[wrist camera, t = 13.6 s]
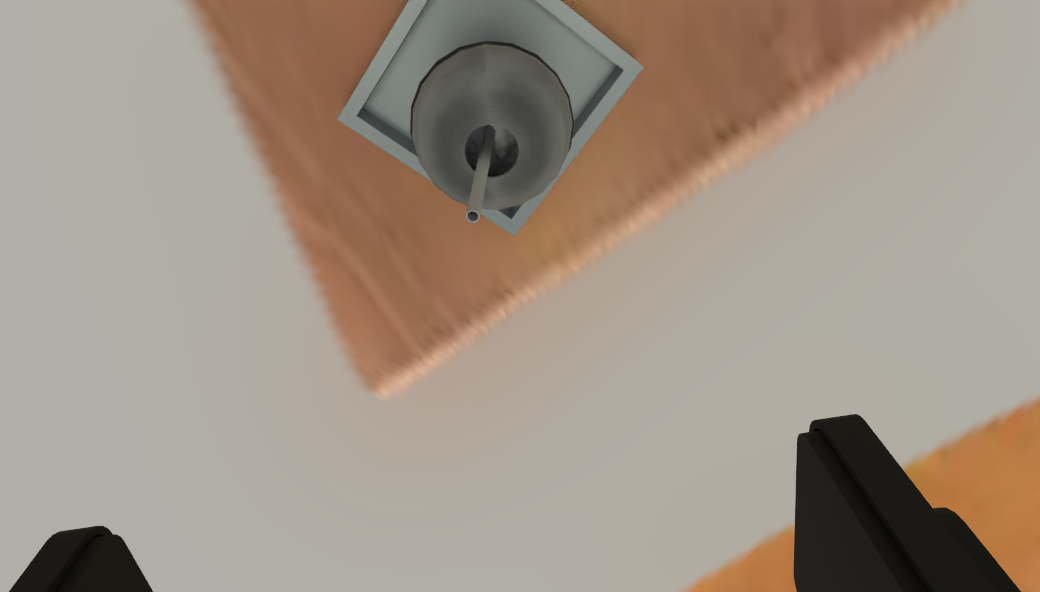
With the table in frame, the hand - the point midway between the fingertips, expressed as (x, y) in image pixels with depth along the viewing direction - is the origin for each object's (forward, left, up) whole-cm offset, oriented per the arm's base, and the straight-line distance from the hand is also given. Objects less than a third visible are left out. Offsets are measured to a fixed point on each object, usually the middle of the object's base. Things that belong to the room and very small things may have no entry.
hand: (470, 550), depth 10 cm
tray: (0, 0, -36) cm, 36 cm away
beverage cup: (0, 0, -36) cm, 36 cm away
